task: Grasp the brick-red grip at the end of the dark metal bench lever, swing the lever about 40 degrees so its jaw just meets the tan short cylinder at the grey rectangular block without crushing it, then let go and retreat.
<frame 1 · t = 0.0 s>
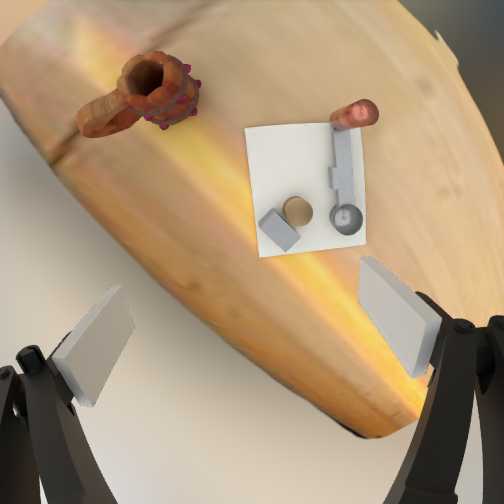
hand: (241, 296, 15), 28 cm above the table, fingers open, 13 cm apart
bench board: (309, 187, 41), on the table
mug: (159, 110, 36), on the table
grey rectangular block: (276, 224, 42), resting on bench board
tan short cylinder: (295, 208, 40), point 1 cm above the table, touching bench board
lever: (355, 174, 33), point 7 cm above the table, hinge at 0.0°
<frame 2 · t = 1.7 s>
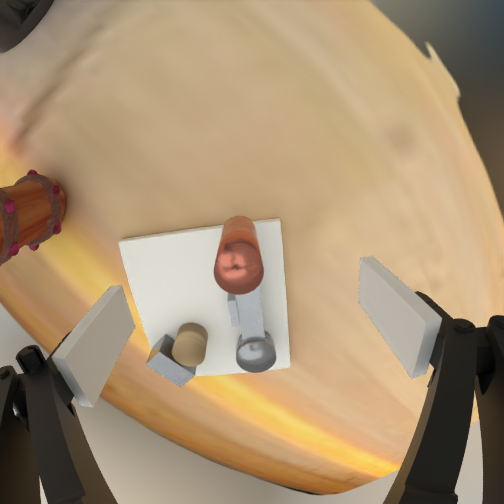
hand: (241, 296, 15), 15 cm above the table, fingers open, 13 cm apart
bench board: (211, 308, 32), on the table
mug: (37, 213, 27), on the table
grey rectangular block: (177, 345, 34), resting on bench board
tan short cylinder: (192, 335, 32), point 1 cm above the table, touching bench board
lever: (250, 324, 24), point 7 cm above the table, hinge at 0.0°
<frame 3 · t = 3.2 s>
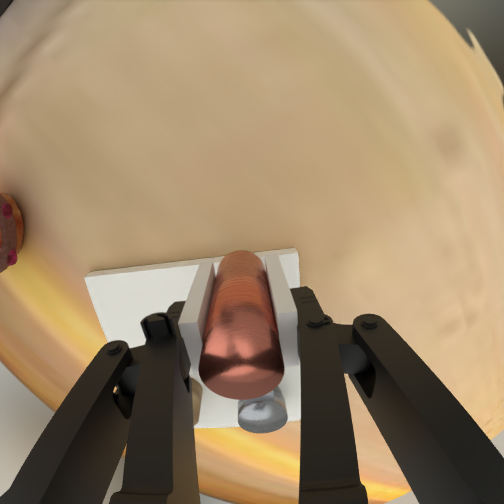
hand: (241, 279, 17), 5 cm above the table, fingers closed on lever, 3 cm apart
bench board: (205, 358, 24), on the table
tan short cylinder: (183, 388, 24), point 1 cm above the table, touching bench board
lever: (256, 398, 16), point 7 cm above the table, hinge at 0.0°, touching gripper
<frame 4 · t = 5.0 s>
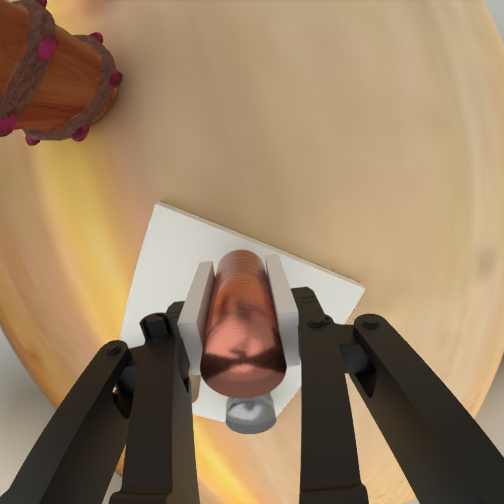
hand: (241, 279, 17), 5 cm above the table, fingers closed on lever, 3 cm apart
bench board: (221, 342, 23), on the table
mug: (60, 99, 16), on the table
tan short cylinder: (182, 362, 23), point 1 cm above the table, touching bench board
lever: (248, 398, 16), point 7 cm above the table, hinge at 25.8°, touching gripper
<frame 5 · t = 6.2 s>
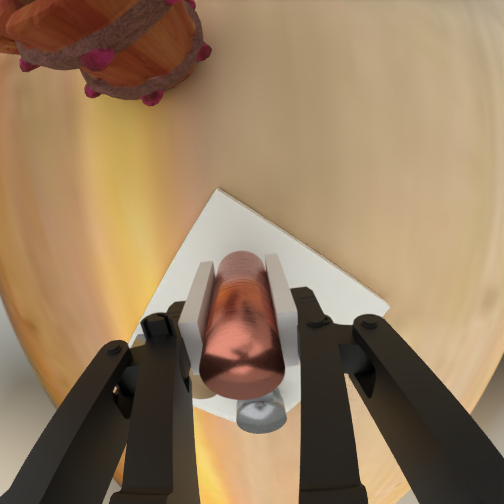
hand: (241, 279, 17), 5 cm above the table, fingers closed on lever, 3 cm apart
bench board: (245, 339, 23), on the table
mug: (125, 58, 16), on the table
tan short cylinder: (202, 354, 22), point 1 cm above the table, touching bench board
lever: (255, 398, 16), point 7 cm above the table, hinge at 39.5°, touching gripper
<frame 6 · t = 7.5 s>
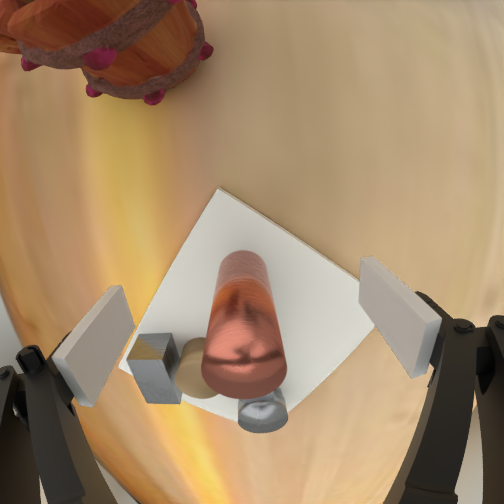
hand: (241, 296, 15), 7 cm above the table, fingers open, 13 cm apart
bench board: (246, 338, 23), on the table
mug: (126, 57, 16), on the table
grey rectangular block: (165, 348, 24), resting on bench board
tan short cylinder: (203, 354, 23), point 1 cm above the table, touching bench board
lever: (257, 397, 16), point 7 cm above the table, hinge at 39.7°
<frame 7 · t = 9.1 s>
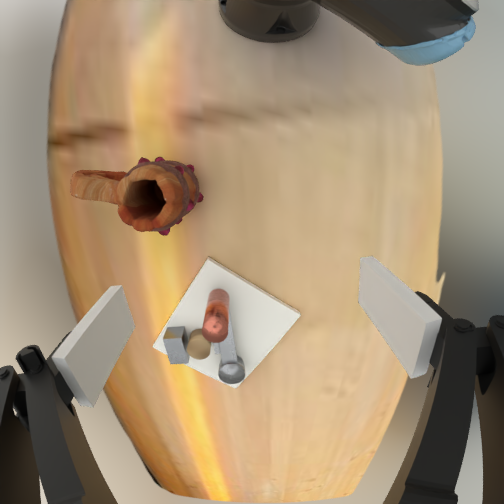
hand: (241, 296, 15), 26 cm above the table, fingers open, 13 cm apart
bench board: (223, 329, 45), on the table
mug: (157, 184, 38), on the table
grey rectangular block: (180, 335, 45), resting on bench board
tan short cylinder: (200, 337, 44), point 1 cm above the table, touching bench board
lever: (225, 354, 38), point 7 cm above the table, hinge at 39.7°
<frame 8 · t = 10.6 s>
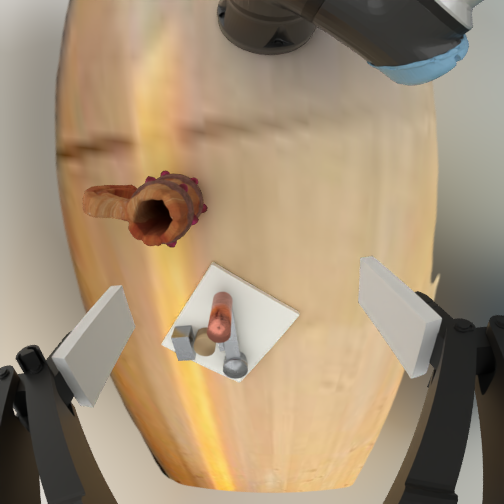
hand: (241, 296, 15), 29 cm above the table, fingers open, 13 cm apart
bench board: (227, 328, 49), on the table
mug: (163, 194, 41), on the table
grey rectangular block: (187, 333, 49), resting on bench board
tan short cylinder: (206, 335, 48), point 1 cm above the table, touching bench board
lever: (229, 352, 42), point 7 cm above the table, hinge at 39.7°
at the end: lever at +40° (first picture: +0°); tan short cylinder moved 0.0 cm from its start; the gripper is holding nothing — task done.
